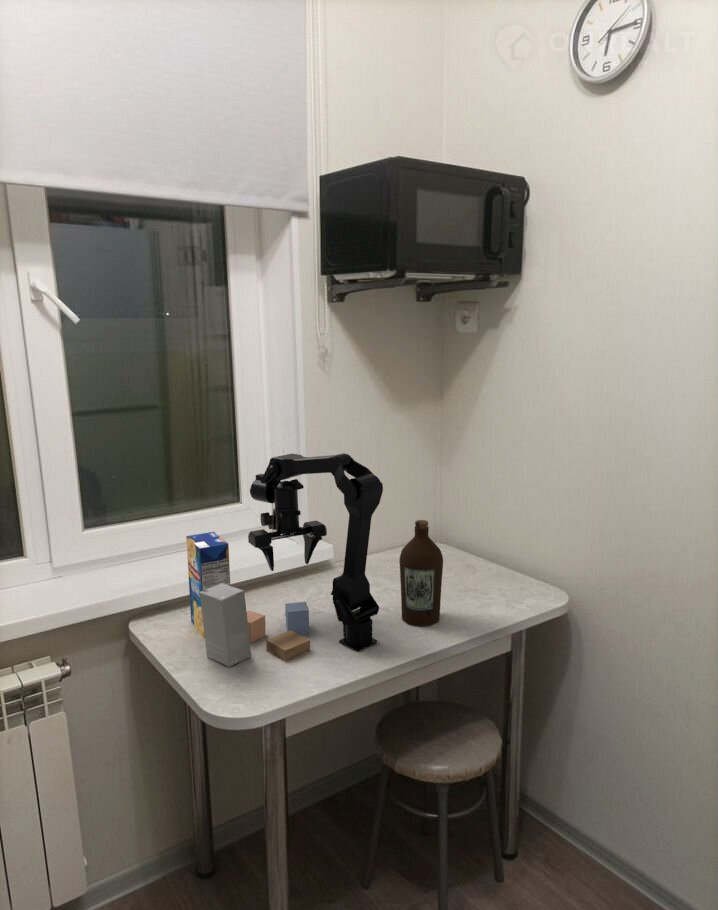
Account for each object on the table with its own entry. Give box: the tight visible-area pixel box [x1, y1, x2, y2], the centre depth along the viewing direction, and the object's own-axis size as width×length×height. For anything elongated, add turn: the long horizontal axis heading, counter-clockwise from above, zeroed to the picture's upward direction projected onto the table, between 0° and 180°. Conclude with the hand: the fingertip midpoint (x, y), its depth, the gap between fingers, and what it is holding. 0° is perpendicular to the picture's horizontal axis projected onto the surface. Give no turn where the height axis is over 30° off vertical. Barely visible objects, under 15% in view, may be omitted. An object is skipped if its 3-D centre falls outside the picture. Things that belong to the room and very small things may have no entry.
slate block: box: [284, 601, 310, 636], centre depth 163 cm, size 5×5×6 cm
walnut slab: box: [265, 630, 311, 662], centre depth 153 cm, size 7×7×3 cm
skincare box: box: [200, 583, 252, 668], centre depth 149 cm, size 8×7×16 cm
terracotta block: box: [246, 610, 267, 644], centre depth 160 cm, size 5×5×5 cm
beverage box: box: [185, 531, 231, 639], centre depth 164 cm, size 7×11×22 cm, turn 30°
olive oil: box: [399, 519, 444, 627], centre depth 167 cm, size 11×11×25 cm
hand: (289, 567), depth 169 cm, fingers open, 9 cm apart
